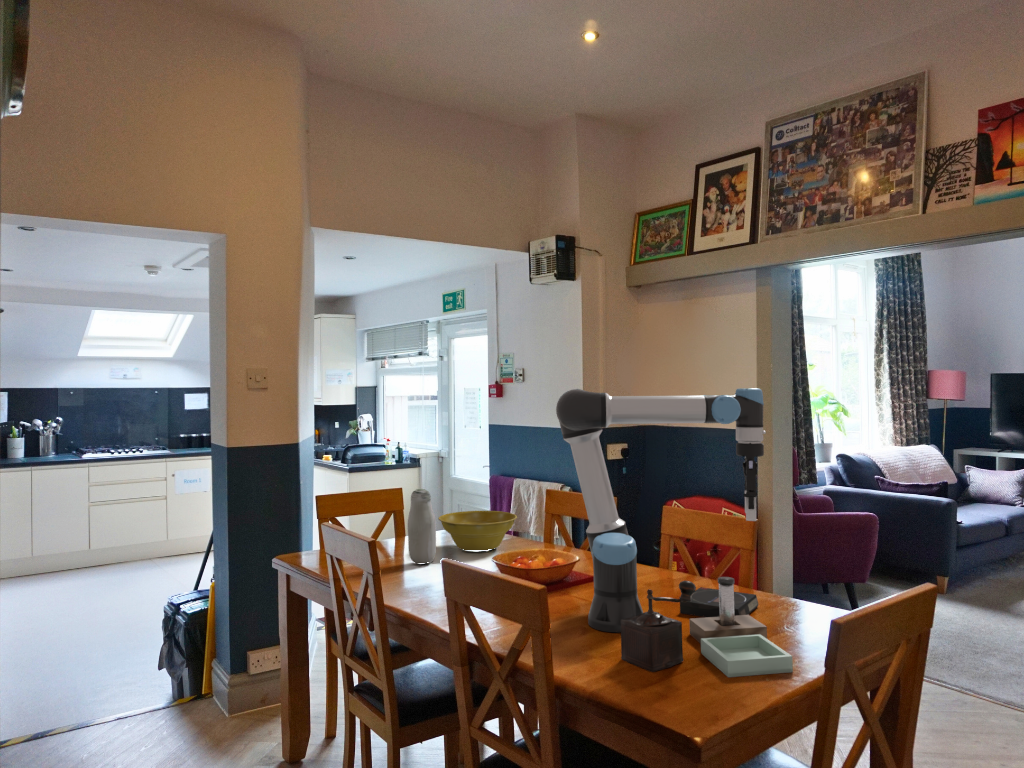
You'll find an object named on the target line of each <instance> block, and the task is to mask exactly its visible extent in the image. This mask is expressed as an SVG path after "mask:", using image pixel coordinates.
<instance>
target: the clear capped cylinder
mask: <svg viewBox="0 0 1024 768" xmlns="http://www.w3.org/2000/svg"><path fill="white" fill-rule="evenodd" d="M717 584H718V590H719V611H720V625H721V626H734V625H735V615H734V592H735V591H734V589H735V588H734V587H735V586H734V585H735V578H733V577H729V576H720V577H717Z"/></svg>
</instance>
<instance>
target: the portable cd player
mask: <svg viewBox="0 0 1024 768" xmlns="http://www.w3.org/2000/svg"><path fill="white" fill-rule="evenodd" d="M691 600H692V601H691V602H689V601H687V602H685V603H683V602H679V613H680V614H683V615H689V616H690V615H691V616H696V617H700V618H707V617H720V611H719V588H718V589H717V588H709V587H703V586H702V587H701V586H700V587H699V588H696V590H695V592H694V593H693V594H692V595H691ZM758 607H759V600H758V597H757V594H754V593H745V592H739V591H734V615H735V616H736V615H750V614H751V613H752V612H753V611H754V610H756V609H757V608H758Z"/></svg>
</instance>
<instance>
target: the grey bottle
mask: <svg viewBox="0 0 1024 768" xmlns="http://www.w3.org/2000/svg"><path fill="white" fill-rule="evenodd" d="M407 536H408V537H407V538H408V539H407V541H408V542H407V543H408V544H407V545H408V554H409V557H410V559H411V561H412V562H413V563H414V562H415V563H414V564H416V563H427V562H430V563H432V562H433V561H434V559H435V557H436V554H437V553H436V552H437V523H436V516H435V512H434V510H433V505H432V498H431V493H430V492H429V491H428V490H427V489H423V488H418V489H417V488H416V489H415V490H413V491H412V492H411V495H410V509H409V513H408V519H407ZM431 561H432V562H431Z"/></svg>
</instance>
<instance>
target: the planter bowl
mask: <svg viewBox="0 0 1024 768" xmlns="http://www.w3.org/2000/svg"><path fill="white" fill-rule="evenodd" d="M517 519H518V516H517V514H514V513H511V512H506V511H498V510H465V511H456V512H455V511H454V512H449V513H445V514H442V515H440V516H438V521H440V522H441V525H442V527H443V530H444V531H445V532H447V533H449V534H450V537H451V539H452V540H453V542H454V544H455V545H456V547H457V548H458V549H460V550H461V549H464V550H488V549H494V548H496V549H497V548H499V546H500V545H501V544H502V541H504V538H505V535H506V533H507V532H508V531H509V530H510V531H511V529H512V527H513V525H514V523H515V520H517Z"/></svg>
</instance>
